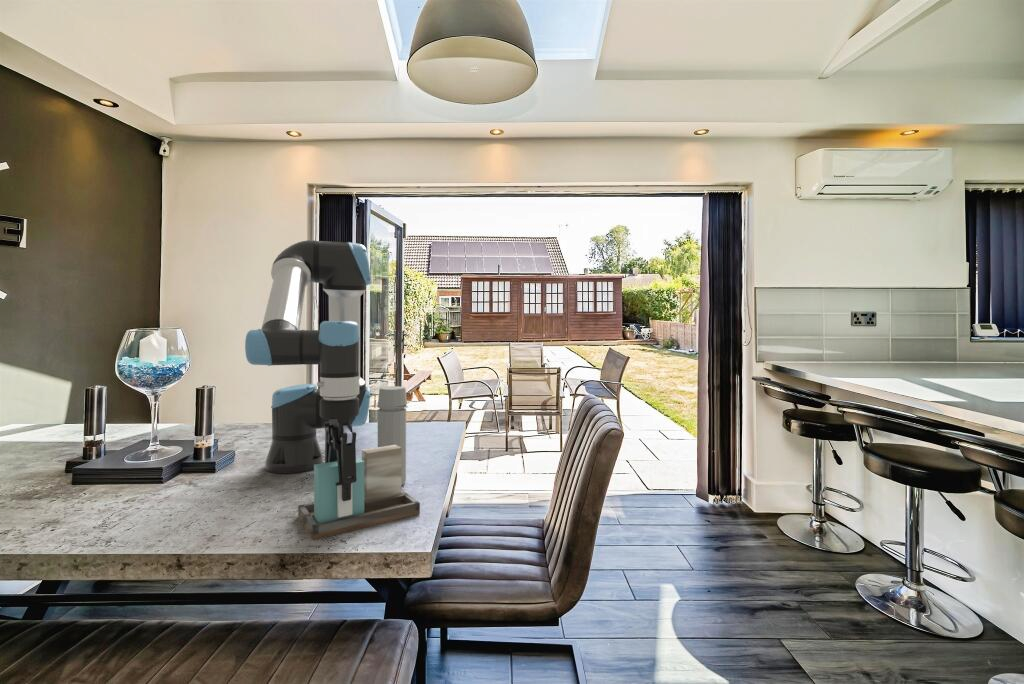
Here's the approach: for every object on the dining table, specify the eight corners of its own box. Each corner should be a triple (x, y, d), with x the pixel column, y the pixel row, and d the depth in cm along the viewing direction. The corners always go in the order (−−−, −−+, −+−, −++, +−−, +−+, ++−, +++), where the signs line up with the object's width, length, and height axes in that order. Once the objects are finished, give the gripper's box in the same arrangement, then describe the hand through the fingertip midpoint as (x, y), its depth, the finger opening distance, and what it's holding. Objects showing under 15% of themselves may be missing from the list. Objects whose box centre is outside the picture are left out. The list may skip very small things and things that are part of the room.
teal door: (314, 523, 95) (313, 464, 94) (358, 513, 100) (358, 457, 100) (318, 529, 92) (318, 469, 92) (364, 519, 97) (364, 461, 97)
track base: (298, 517, 100) (297, 456, 100) (396, 496, 113) (396, 442, 113) (313, 540, 90) (312, 472, 89) (419, 513, 103) (419, 454, 102)
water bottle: (400, 490, 117) (400, 390, 116) (371, 487, 119) (371, 389, 118) (414, 478, 126) (415, 385, 125) (387, 476, 128) (387, 384, 127)
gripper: (308, 392, 101) (309, 499, 102) (333, 405, 85) (334, 531, 86) (344, 390, 105) (344, 492, 106) (374, 402, 90) (374, 521, 90)
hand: (339, 509), depth 96 cm, fingers open, 6 cm apart
